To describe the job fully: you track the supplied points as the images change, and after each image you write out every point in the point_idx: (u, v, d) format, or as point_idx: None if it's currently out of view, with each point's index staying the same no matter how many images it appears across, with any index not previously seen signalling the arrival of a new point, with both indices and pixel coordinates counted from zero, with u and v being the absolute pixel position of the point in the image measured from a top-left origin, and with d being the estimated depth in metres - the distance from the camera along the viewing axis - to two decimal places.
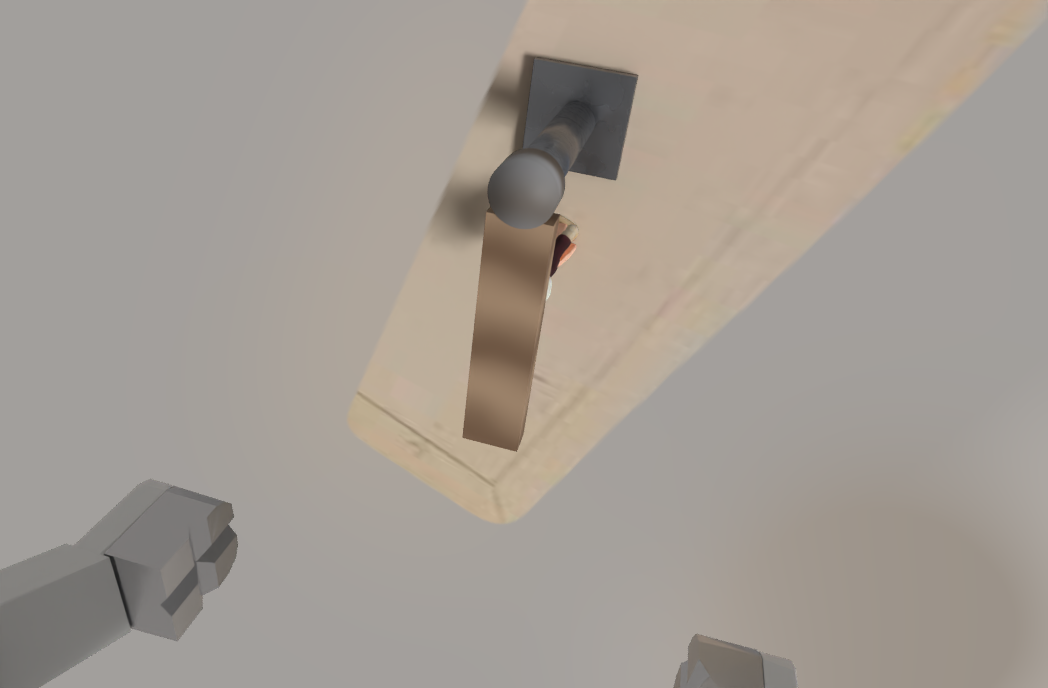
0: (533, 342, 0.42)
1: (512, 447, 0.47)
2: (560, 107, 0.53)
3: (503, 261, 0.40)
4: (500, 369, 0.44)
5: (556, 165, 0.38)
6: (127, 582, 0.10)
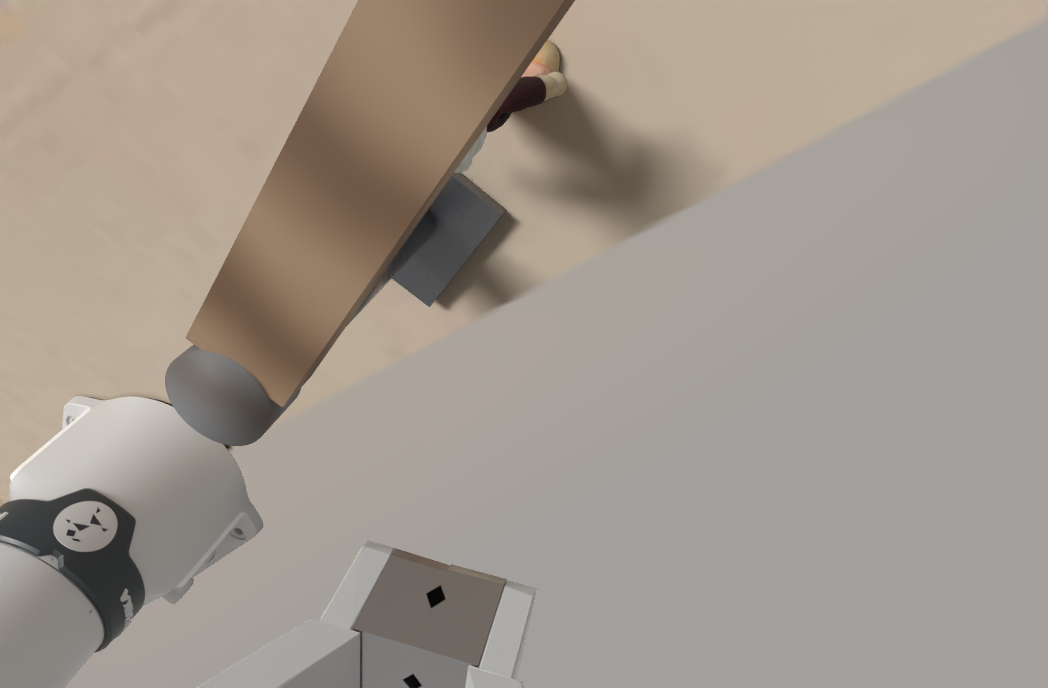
0: (277, 165, 0.19)
1: None
2: (421, 246, 0.40)
3: (281, 333, 0.22)
4: (372, 135, 0.18)
5: None
6: (371, 657, 0.10)
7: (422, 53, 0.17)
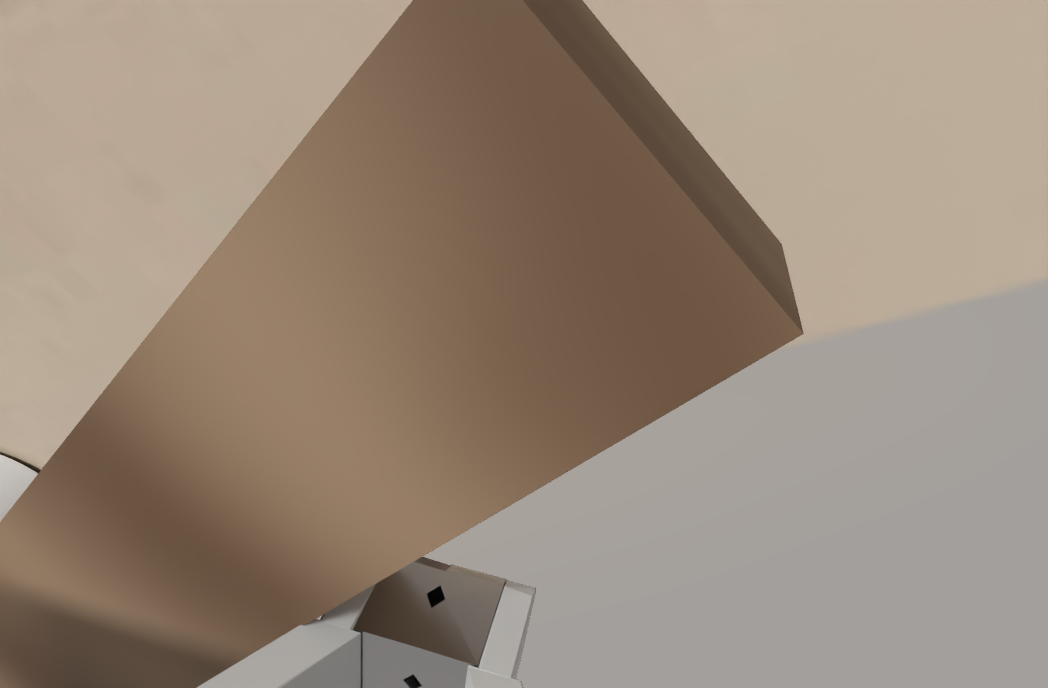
0: (37, 483, 0.09)
1: (475, 4, 0.05)
2: None
3: None
4: (232, 492, 0.08)
5: None
6: (371, 657, 0.10)
7: (351, 392, 0.07)
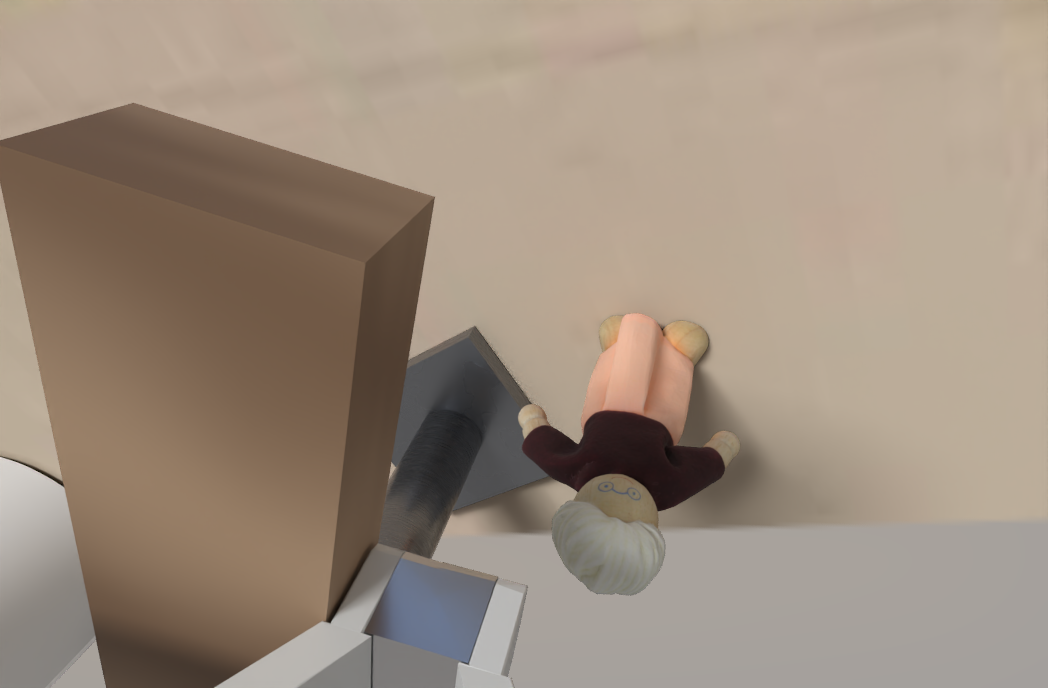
0: (103, 655, 0.12)
1: (28, 178, 0.07)
2: None
3: None
4: (194, 601, 0.10)
5: None
6: (382, 660, 0.10)
7: (186, 479, 0.09)
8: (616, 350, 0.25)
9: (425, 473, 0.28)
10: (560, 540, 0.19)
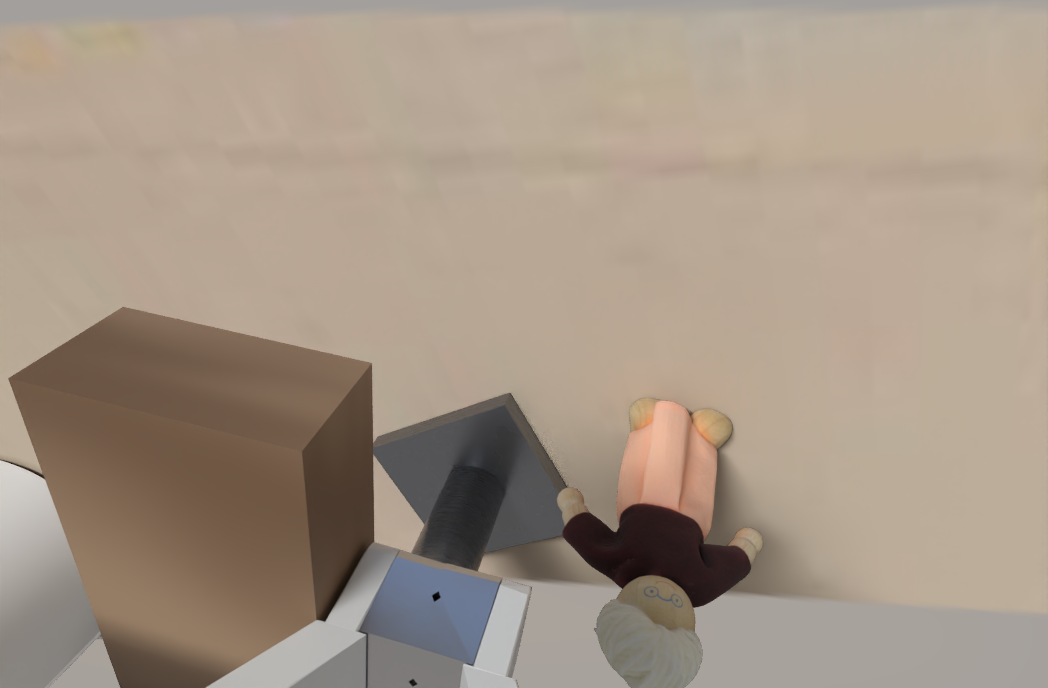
0: None
1: (38, 401, 0.09)
2: None
3: None
4: None
5: None
6: (377, 658, 0.10)
7: (193, 614, 0.10)
8: (651, 439, 0.27)
9: (457, 535, 0.29)
10: (607, 640, 0.20)
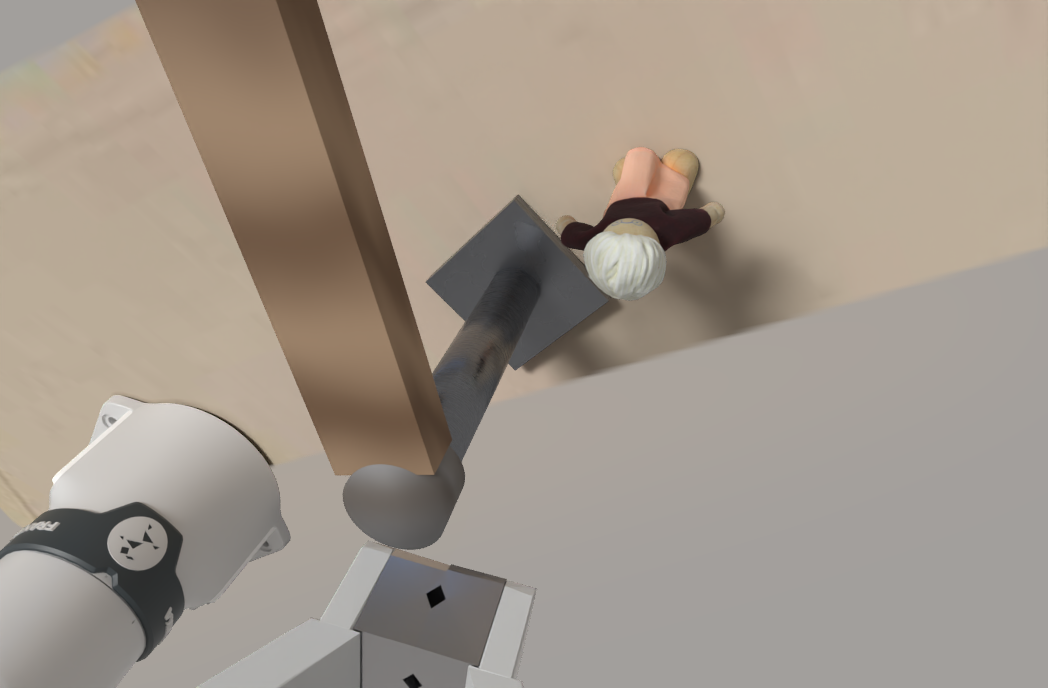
0: (255, 281, 0.21)
1: None
2: None
3: (375, 410, 0.23)
4: (274, 194, 0.19)
5: None
6: (371, 657, 0.10)
7: (239, 101, 0.18)
8: (623, 169, 0.33)
9: (496, 301, 0.36)
10: (590, 261, 0.27)
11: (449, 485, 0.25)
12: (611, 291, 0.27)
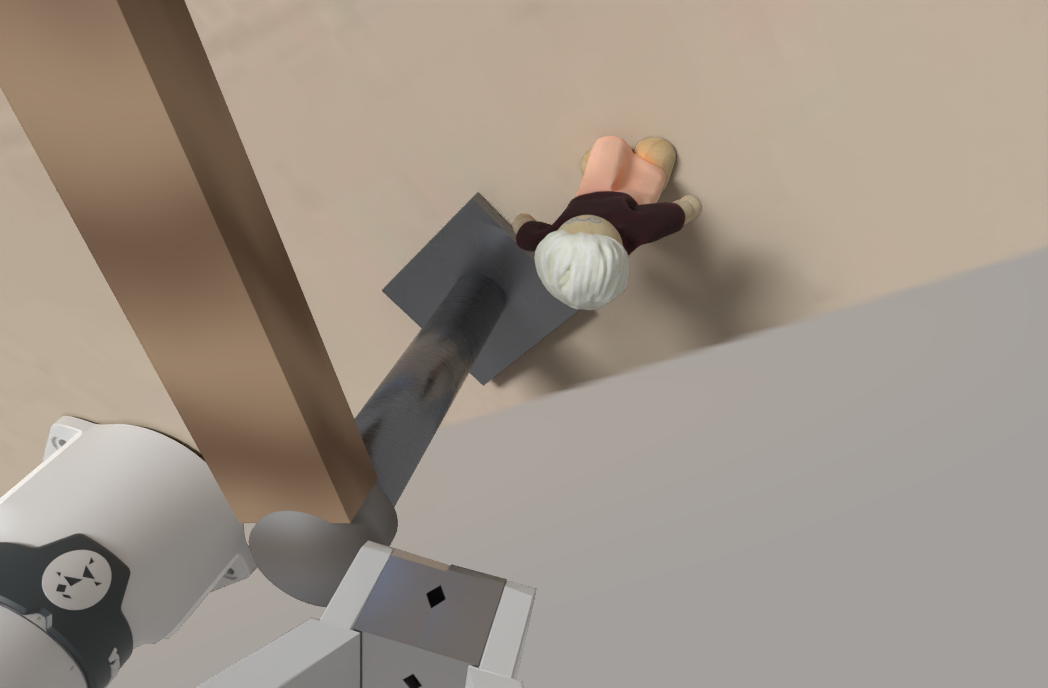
0: (117, 297, 0.17)
1: None
2: None
3: (275, 448, 0.19)
4: (123, 190, 0.16)
5: None
6: (371, 657, 0.10)
7: (65, 73, 0.15)
8: (588, 160, 0.29)
9: (453, 311, 0.32)
10: (540, 265, 0.23)
11: (374, 533, 0.21)
12: (566, 300, 0.23)
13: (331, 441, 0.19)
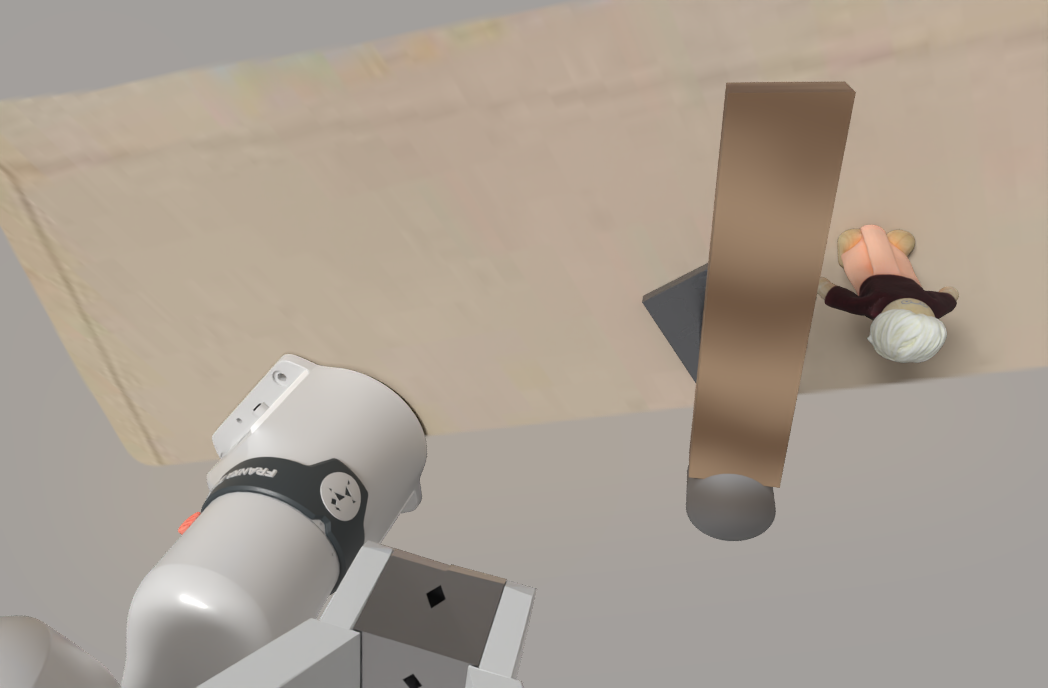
0: (705, 328, 0.27)
1: (737, 101, 0.23)
2: None
3: (755, 434, 0.29)
4: (761, 272, 0.26)
5: None
6: (371, 657, 0.10)
7: (771, 206, 0.24)
8: (867, 244, 0.40)
9: None
10: (885, 330, 0.34)
11: None
12: (895, 355, 0.34)
13: None
